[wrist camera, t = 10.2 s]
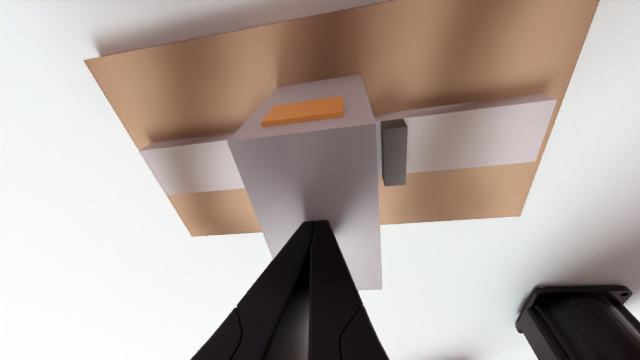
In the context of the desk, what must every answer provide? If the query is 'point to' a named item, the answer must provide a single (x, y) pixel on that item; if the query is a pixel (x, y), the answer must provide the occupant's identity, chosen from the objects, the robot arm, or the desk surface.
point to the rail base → (383, 94)
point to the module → (315, 168)
